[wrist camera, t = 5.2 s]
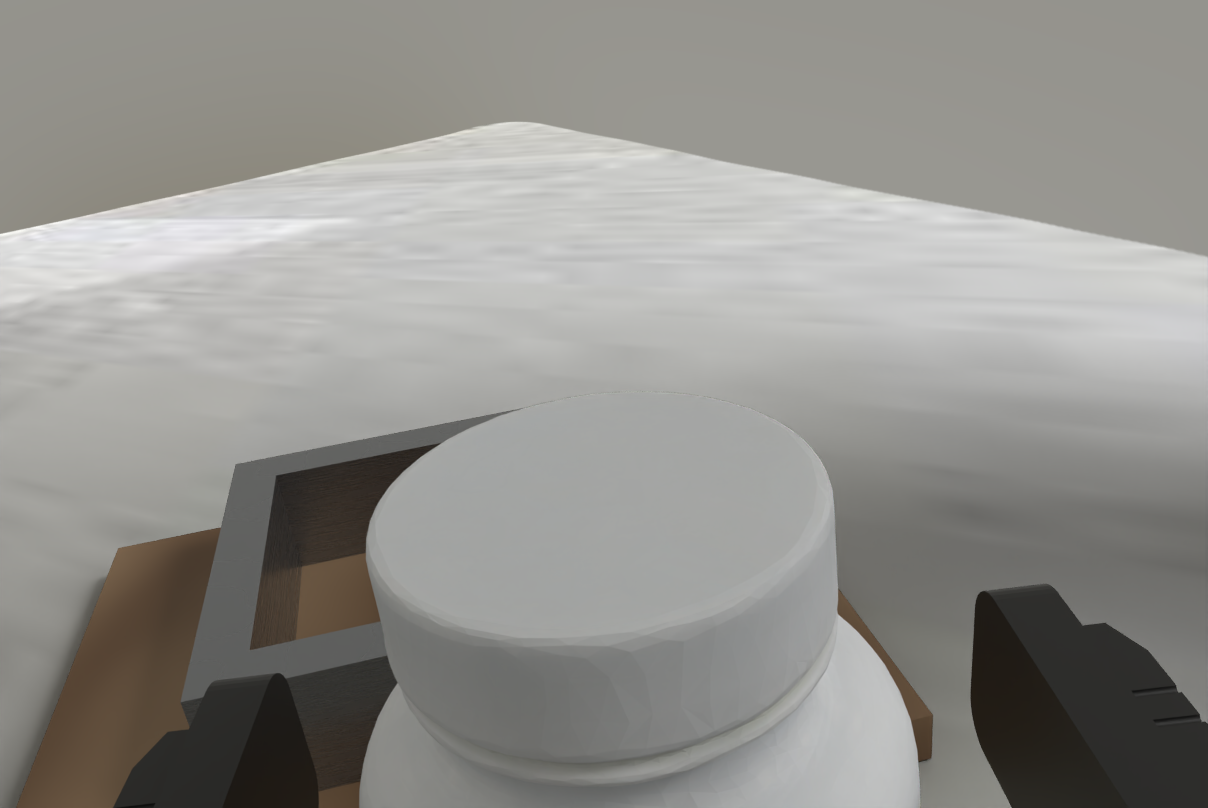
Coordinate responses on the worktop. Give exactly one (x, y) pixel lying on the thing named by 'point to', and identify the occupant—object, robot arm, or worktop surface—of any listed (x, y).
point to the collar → (272, 589)
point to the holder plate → (162, 655)
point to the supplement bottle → (625, 620)
